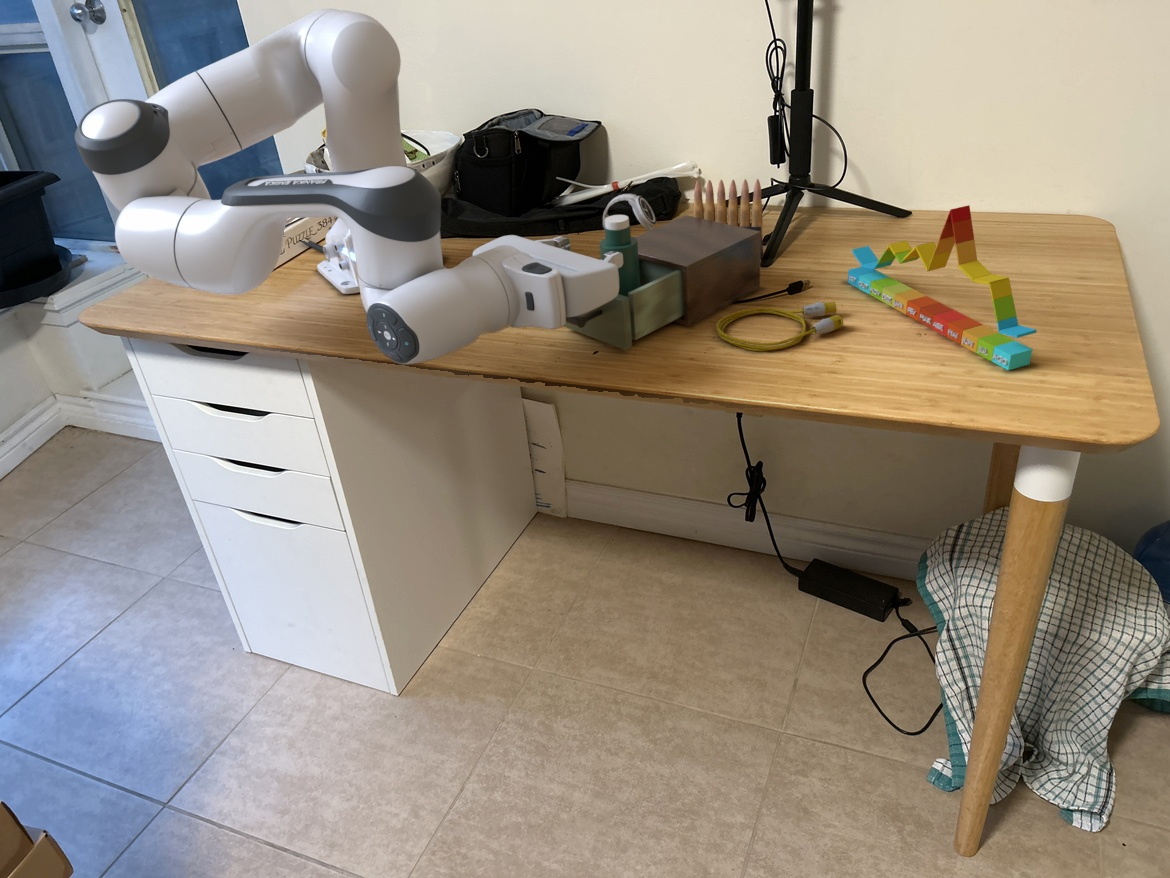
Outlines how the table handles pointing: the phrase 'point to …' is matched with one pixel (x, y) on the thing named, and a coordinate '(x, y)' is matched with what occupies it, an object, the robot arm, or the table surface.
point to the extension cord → (810, 310)
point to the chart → (939, 314)
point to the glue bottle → (622, 251)
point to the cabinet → (706, 262)
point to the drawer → (636, 308)
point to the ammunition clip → (731, 206)
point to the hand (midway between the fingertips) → (591, 250)
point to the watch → (636, 210)
